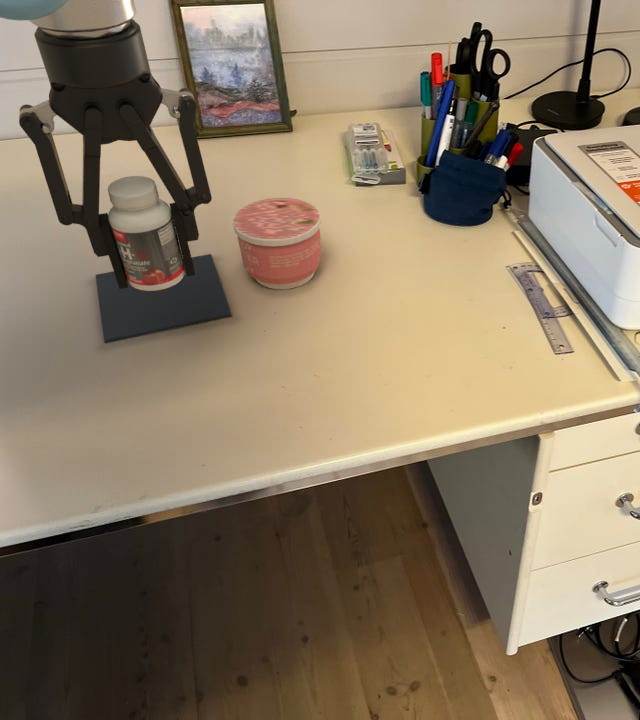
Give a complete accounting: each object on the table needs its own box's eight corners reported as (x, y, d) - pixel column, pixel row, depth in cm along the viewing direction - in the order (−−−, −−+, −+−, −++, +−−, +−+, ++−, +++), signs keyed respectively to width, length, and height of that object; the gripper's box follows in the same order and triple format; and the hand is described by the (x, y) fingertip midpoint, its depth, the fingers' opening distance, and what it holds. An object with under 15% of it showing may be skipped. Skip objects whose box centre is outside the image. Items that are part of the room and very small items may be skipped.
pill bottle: (117, 290, 71) (87, 197, 64) (142, 259, 75) (115, 168, 69) (173, 295, 71) (148, 202, 64) (195, 264, 75) (173, 174, 68)
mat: (104, 342, 85) (103, 340, 84) (96, 277, 94) (95, 274, 94) (231, 316, 89) (231, 313, 89) (211, 256, 99) (210, 253, 99)
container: (323, 295, 94) (317, 239, 88) (236, 296, 92) (226, 240, 87) (328, 250, 101) (323, 196, 96) (248, 250, 100) (239, 196, 95)
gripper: (203, 0, 63) (246, 238, 78) (-48, 17, 57) (51, 271, 72) (217, 28, 58) (260, 276, 73) (-57, 49, 52) (52, 316, 67)
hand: (156, 274), depth 73 cm, fingers closed on pill bottle, 5 cm apart
